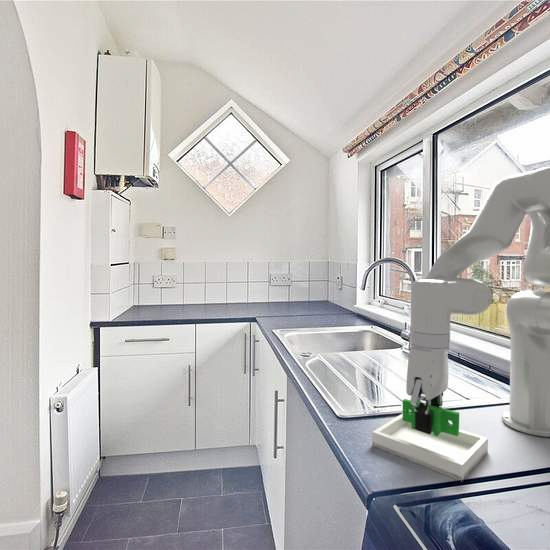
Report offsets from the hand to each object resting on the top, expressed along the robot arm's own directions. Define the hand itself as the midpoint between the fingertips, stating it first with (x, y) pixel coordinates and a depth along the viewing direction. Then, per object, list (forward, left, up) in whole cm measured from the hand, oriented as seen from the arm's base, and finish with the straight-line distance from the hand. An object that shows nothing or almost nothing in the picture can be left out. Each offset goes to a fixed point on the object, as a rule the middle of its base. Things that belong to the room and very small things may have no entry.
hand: (428, 426), depth 77 cm
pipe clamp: (0, 0, -1) cm, 1 cm away
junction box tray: (0, 0, -5) cm, 5 cm away
